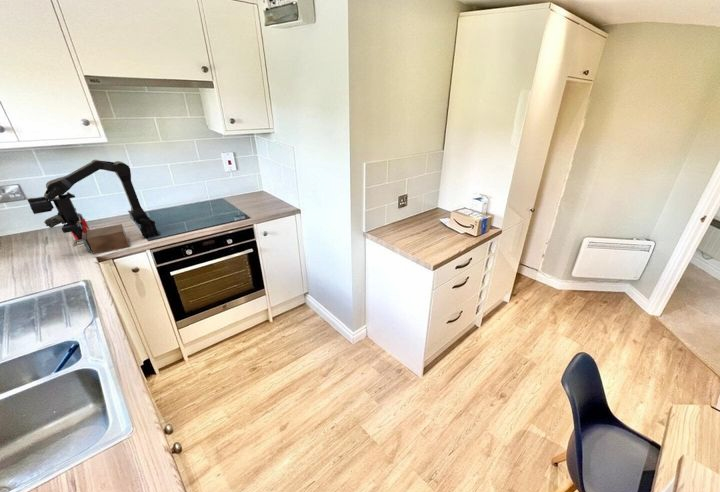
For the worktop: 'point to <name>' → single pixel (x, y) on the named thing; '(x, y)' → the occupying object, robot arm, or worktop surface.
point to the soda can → (85, 228)
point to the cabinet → (107, 239)
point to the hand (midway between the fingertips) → (80, 239)
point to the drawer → (83, 243)
